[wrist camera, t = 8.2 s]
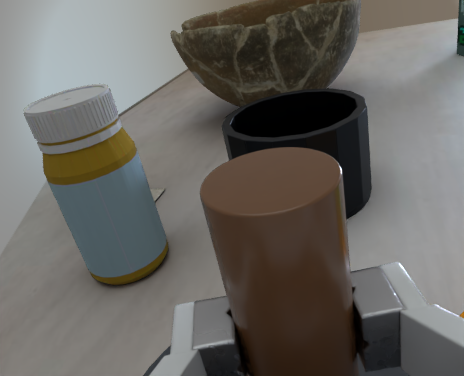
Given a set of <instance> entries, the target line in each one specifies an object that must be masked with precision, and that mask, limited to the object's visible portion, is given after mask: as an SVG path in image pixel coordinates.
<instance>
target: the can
mask: <svg viewBox="0 0 464 376" xmlns="http://www.w3.org/2000/svg"><path fill="white" fill-rule="evenodd" d="M457 54H459V55H461V56H464V0H459V17H458V39H457Z"/></svg>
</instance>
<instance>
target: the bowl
mask: <svg viewBox="0 0 464 376" xmlns="http://www.w3.org/2000/svg"><path fill="white" fill-rule="evenodd" d="M360 9H361V0H258V1H254V2H249V3H245V4H241V5H238V6H234V7H231V8H229V9H226V10H220V11H218V12H212V13H208V14H204V15H201V16H197V17H194V18H192V19H189V20H187V21H185V22H184V23H183V24H182V29H183V32H181V34H180V33H177V32H176V31H171V38H172V41H173V43H174V45H175V47H176V49H177V51H178V53H179V55H180V56H181V58H182V59H183V61H184V63H185V64H186V66H187V67H188V68H189V70H190V71H191V72H192V74H193V75H194V76H195V77H196V78H197V80H198V81H199V82H200V83H201V84H202V85H204V86H205V87H206V88H207V89H208V90H210V91H211V92H212V93H214V94H215V95H217V96H218V97H220V98H222V99H223V100H225V101H227V102H229V103H231V104H234V105H237V106H239V107H242V106H244V105H246V104H249V103H251V102H253V101H256V100H258V99H261V98H265V97H269V96H273V95H276V94H280V93H285V92H291V91H298V90H305V89H326V88H327V87H328V86H329V85H330V84H331V83H332V82H333V81H334V80H335V79H336V77H337V76H338V75H339V74H340V72H341V71H342V69H343V68H344V66H345V64H346V63H347V61H348V59H349V57H350V55H351V53H352V51H353V49H354V47H355V44H356V41H357V37H358V33H359V26H360V25H359V24H360Z"/></svg>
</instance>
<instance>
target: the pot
mask: <svg viewBox="0 0 464 376" xmlns="http://www.w3.org/2000/svg"><path fill="white" fill-rule="evenodd" d="M222 131H223V136H224V140H225V144H226V149H227V153H228V157H229V161H230V160H232V159H234V158H236V157H239V156H242V155H245V154H248V153H252V152H256V151H260V150H265V149H272V148H282V147H299V148H308V149H314V150H318V151H321V152H324V153H326V154H328V155H330V156H331V157H333V158H334V159H335V160H336V161H337V162H338V163H339V165H340V167H341V169H342V174H343V186H344V198H345V210H346V219H347V218H349V217H351V216H352V215H354V214H355V213H357V212H358V211H359V210H361V209H362V208H363V207H364V206H365V204H366V203H367V201H368V199H369V197H370V193H371V188H372V187H371V169H370V151H369V133H368V115H367V105H366V102H365V99H364V97H362V96H360V95H358V94H356V93H354V92H351V91H346V90H338V89H330V88H327V89H305V90H298V91H291V92H285V93H280V94H276V95H273V96H269V97H265V98H261V99H258V100H256V101H253V102H251V103H249V104H246V105H244V106H242V107H239V108H238V109H237V110H235V111H234V112H232V113H231V114H229V115H228V116H227V117H226V119H225V121H224V123H223V125H222Z"/></svg>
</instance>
